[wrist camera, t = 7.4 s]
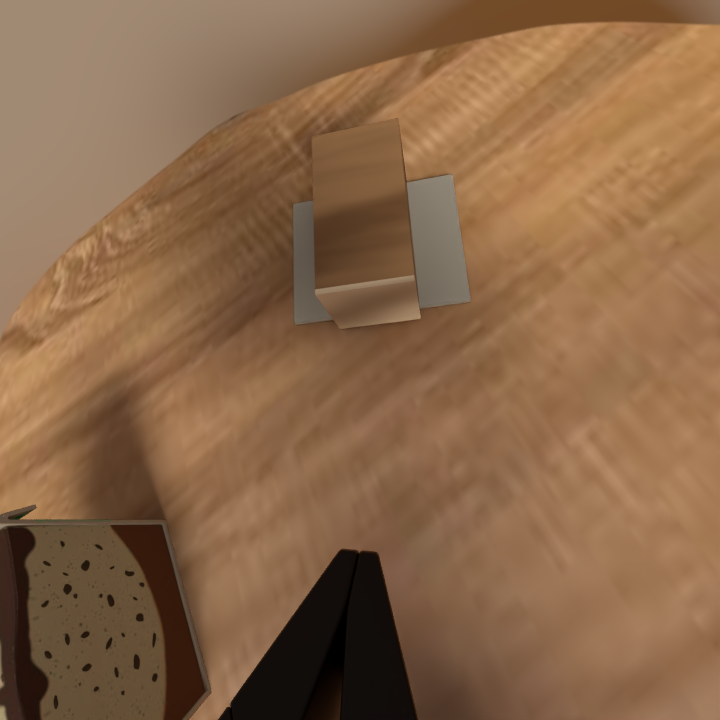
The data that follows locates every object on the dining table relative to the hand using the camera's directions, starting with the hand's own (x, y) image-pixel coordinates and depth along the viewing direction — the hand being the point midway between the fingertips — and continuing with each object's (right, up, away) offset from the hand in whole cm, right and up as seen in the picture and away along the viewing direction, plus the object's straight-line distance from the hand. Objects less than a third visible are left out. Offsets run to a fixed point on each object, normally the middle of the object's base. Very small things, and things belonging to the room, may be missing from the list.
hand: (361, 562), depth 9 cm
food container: (-12, -11, +14) cm, 22 cm away
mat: (+1, +12, +18) cm, 21 cm away
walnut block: (+1, +7, +13) cm, 15 cm away
